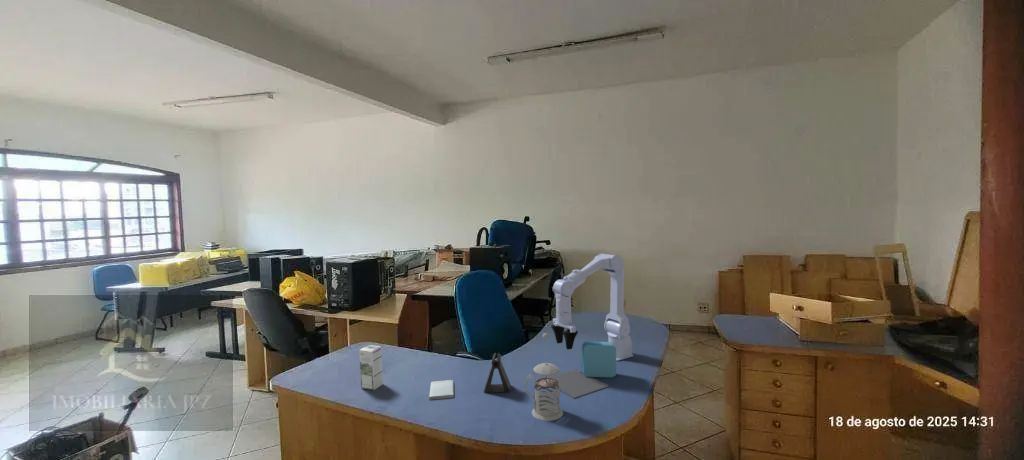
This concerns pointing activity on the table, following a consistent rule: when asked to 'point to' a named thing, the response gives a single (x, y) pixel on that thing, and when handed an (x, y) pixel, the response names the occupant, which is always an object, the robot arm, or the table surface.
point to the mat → (578, 383)
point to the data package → (599, 359)
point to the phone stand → (505, 381)
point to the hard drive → (441, 390)
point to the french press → (544, 405)
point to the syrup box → (371, 367)
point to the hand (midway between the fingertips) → (564, 345)
